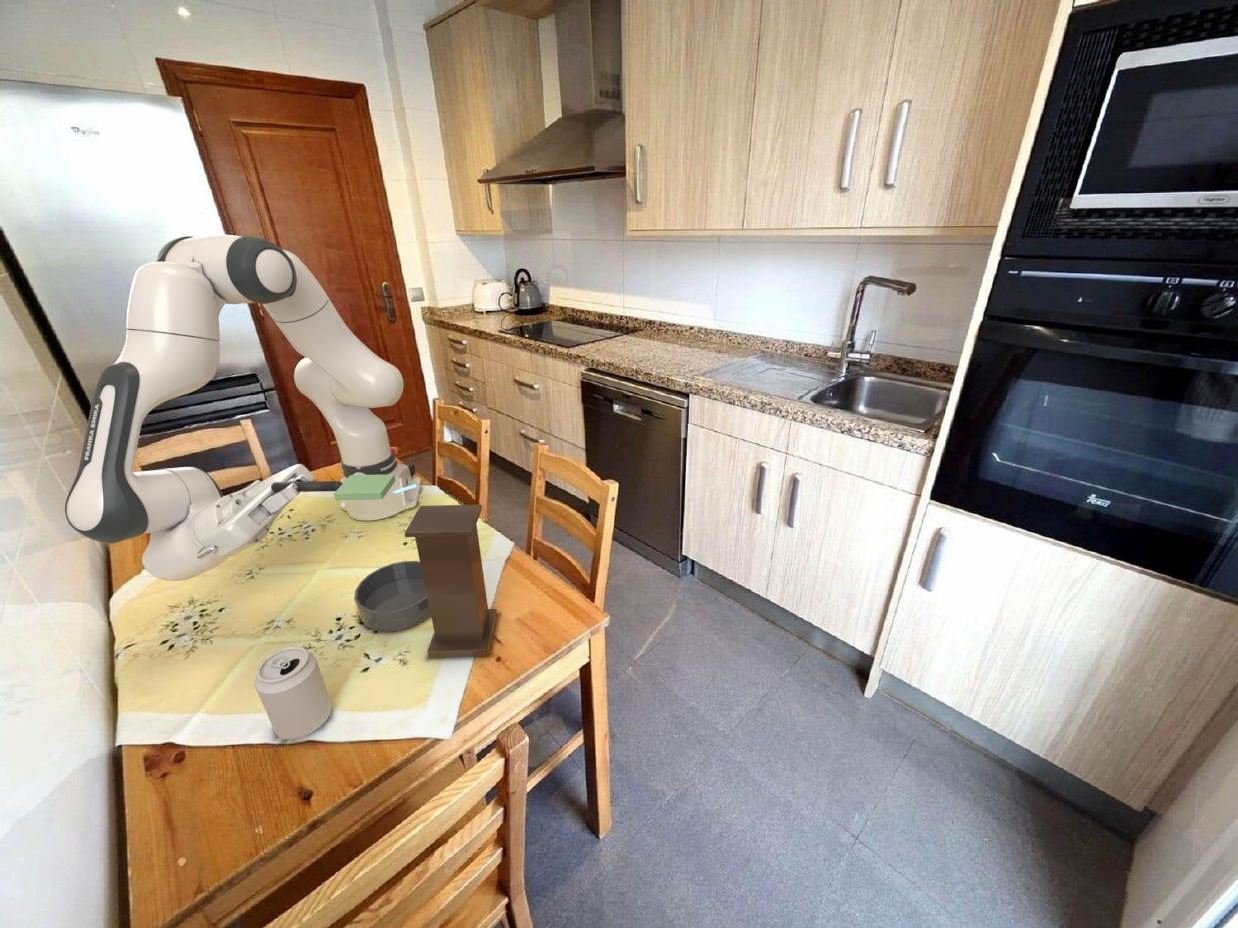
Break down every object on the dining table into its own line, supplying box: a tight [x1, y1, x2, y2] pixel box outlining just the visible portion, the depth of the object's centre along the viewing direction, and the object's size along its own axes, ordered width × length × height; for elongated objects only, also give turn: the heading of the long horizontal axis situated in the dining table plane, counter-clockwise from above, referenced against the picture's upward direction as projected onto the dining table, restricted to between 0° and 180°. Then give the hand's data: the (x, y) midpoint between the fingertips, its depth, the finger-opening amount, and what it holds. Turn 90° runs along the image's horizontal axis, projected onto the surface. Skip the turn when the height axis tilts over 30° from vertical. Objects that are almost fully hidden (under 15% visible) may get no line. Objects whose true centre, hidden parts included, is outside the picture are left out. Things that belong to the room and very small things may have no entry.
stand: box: [404, 504, 498, 659], centre depth 85 cm, size 10×10×25 cm
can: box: [254, 645, 333, 740], centre depth 72 cm, size 8×8×12 cm
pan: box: [353, 560, 431, 633], centre depth 97 cm, size 15×15×4 cm
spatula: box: [271, 475, 396, 501], centre depth 79 cm, size 18×6×2 cm, turn 93°
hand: (301, 484), depth 78 cm, fingers closed on spatula, 1 cm apart
